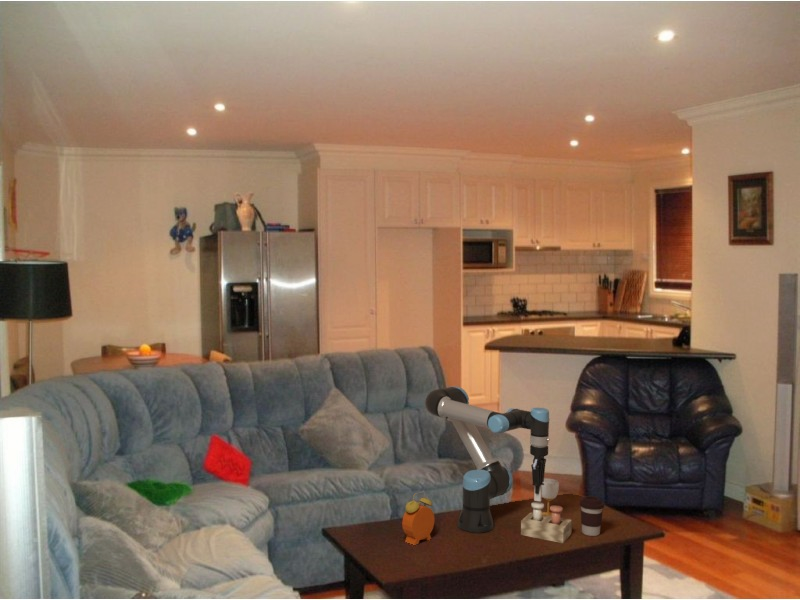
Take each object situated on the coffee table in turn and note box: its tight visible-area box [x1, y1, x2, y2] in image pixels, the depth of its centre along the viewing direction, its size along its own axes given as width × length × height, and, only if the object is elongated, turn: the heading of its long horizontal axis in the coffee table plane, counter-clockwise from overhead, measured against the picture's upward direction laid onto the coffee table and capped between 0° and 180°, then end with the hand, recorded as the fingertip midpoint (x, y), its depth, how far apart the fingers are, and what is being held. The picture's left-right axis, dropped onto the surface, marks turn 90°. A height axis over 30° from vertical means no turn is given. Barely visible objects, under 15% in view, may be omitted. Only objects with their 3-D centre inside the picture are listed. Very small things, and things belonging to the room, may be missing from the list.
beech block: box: [520, 512, 573, 544], centre depth 312 cm, size 18×12×6 cm, turn 61°
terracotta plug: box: [549, 504, 564, 525], centre depth 310 cm, size 5×5×8 cm
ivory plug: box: [530, 501, 545, 521], centre depth 314 cm, size 5×5×8 cm
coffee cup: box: [579, 495, 605, 537], centre depth 314 cm, size 10×10×15 cm
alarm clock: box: [401, 490, 436, 546], centre depth 302 cm, size 13×6×20 cm, turn 134°
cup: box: [542, 477, 560, 516], centre depth 334 cm, size 9×9×16 cm
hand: (537, 500), depth 314 cm, fingers closed
